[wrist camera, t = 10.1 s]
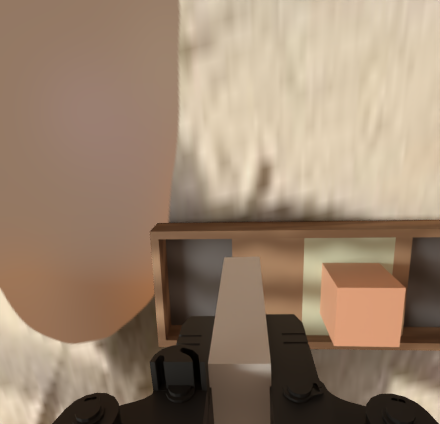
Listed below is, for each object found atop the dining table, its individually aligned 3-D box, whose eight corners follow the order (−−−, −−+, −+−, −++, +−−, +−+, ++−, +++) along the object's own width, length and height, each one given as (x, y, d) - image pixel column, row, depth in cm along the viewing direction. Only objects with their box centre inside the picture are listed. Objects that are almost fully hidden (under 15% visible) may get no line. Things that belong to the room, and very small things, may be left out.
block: (322, 262, 43) (337, 287, 36) (379, 262, 42) (405, 288, 35) (319, 313, 44) (334, 346, 37) (374, 313, 44) (399, 347, 37)
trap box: (157, 223, 45) (149, 231, 42) (486, 219, 43) (510, 228, 39) (165, 329, 49) (158, 346, 45) (468, 332, 46) (489, 351, 42)
